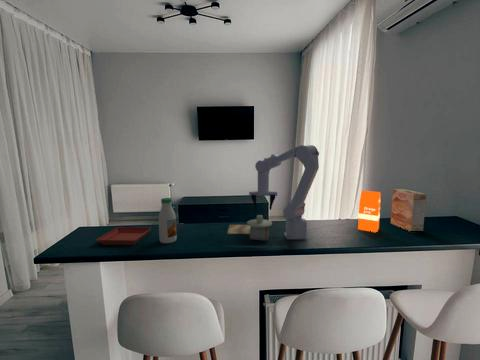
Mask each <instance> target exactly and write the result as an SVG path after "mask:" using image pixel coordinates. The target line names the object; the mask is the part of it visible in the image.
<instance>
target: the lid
mask: <svg viewBox="0 0 480 360" xmlns="http://www.w3.org/2000/svg"><path fill="white" fill-rule="evenodd" d="M246 225H249V226H252V227H269V228H270V226H272V225H273V221H271V220H270V219H264V217H263V215H262V214H257V215H256V218H254V219H249V220H248V221H246Z"/></svg>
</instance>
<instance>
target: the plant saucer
mask: <svg viewBox="0 0 480 360" xmlns="http://www.w3.org/2000/svg"><path fill="white" fill-rule="evenodd" d="M151 230H152V227H142V226H141V227H133V226H132V227H129V226H126V227H124V226H123V227H122V226H119V227H115V228H114V229H112V230H111V231H108V232H107V233H105V234H103V235H102V236H100V237H98V238H96V241H97V242H98V243H99V244H102V245H105V246H106V245H108V246H109V245H111V246H113V245H114V246H116V245H117V246H134V245H135V244H137V243H139V241H141V240H142V239H143V238H144V237H145V236H147V235H148V234H149V232H150V231H151Z"/></svg>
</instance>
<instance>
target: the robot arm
mask: <svg viewBox="0 0 480 360" xmlns="http://www.w3.org/2000/svg"><path fill="white" fill-rule="evenodd" d="M319 155H320V152H319V151H318V148H317V146H315V145H313V144H310V145H303V144H301V145H299V146H295V147H293V148H291V149H289V150H287V151H285V152H283V153H281V154H271V155H270V156H269V157H264V158H263V160H257V161H256V163H255V170H256V171H257V191H256V190H255V191H249V192H248V196H249V197H250V198H251V200H252V202H253V205H254V206H253V207H254V211H255V210H256V211H257V197H258V196H259V197H260V196H261V197H262V196H263V197H264V196H265V197H266V196H267V197H269V210H272V207H273V203H274V202H275V200H276V197H277V196H278V191H270V189H269V188H270V187H269V186H270V185H269V184H270V183H269V182H270V180H269V177H270V172H271V170H272V169H274V168H278V167H279V166H281V164H282V162H284V161H287V160H289V159H292V158H296V159H298V160H299V161H300V163H301V164H302V165H303V167H304V171H303V172H302V176H301V177H300V180H299V182H298V185H297V186H296V187H297V188H296V191H295V193H294V195H293V197H292V199H291V200H290V201H288V204H287V206H285V207H284V209H283V216H284V217H285V232H284V236H285V239H286V240H308V238H307V232H308V231H307V229H308V228H307V227H308V226H307V225H308V224H307V219H306V218H303V215H304V214H305V206H306V203H305V202H306V201H305V200H306V198H307V196H308V195H309V194H308V193H309V191H310V190H311V187H312V185H313V182H314V180H315V178H316V175H317V173H318V171H319V167H320V166H319Z"/></svg>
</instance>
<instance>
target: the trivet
mask: <svg viewBox="0 0 480 360" xmlns="http://www.w3.org/2000/svg"><path fill="white" fill-rule="evenodd" d="M250 227H251V226H249V225H248V224H229V226H228V229H227V234H228V235H232V234H233V235H235V234H236V235H250Z"/></svg>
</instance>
